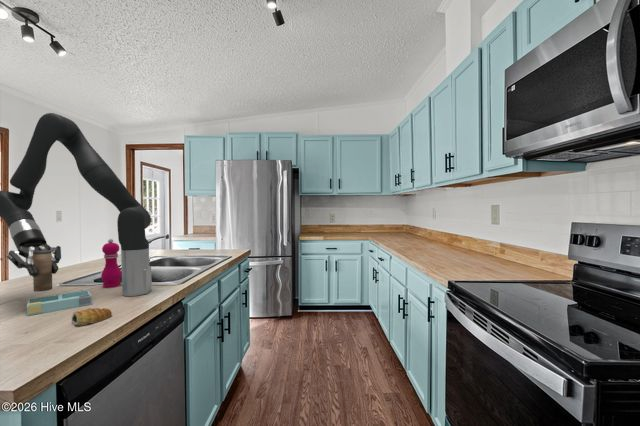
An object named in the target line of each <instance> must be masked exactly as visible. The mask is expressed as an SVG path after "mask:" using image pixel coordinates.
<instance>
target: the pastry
mask: <svg viewBox="0 0 640 426" xmlns="http://www.w3.org/2000/svg"><path fill="white" fill-rule="evenodd" d="M112 315H113V314H112V311H111V309H110V308H106V307H105V308H99V307H95V308H91V307H90V308H85V309H81V310H79V311H77V310H76V311H74V312H73V313H72V316H71V322H72V325H74V326H81V327H83V326H87V325H88V324H95V323H97V322H102V321H105V320H107V319H109V318H110V317H112Z"/></svg>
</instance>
